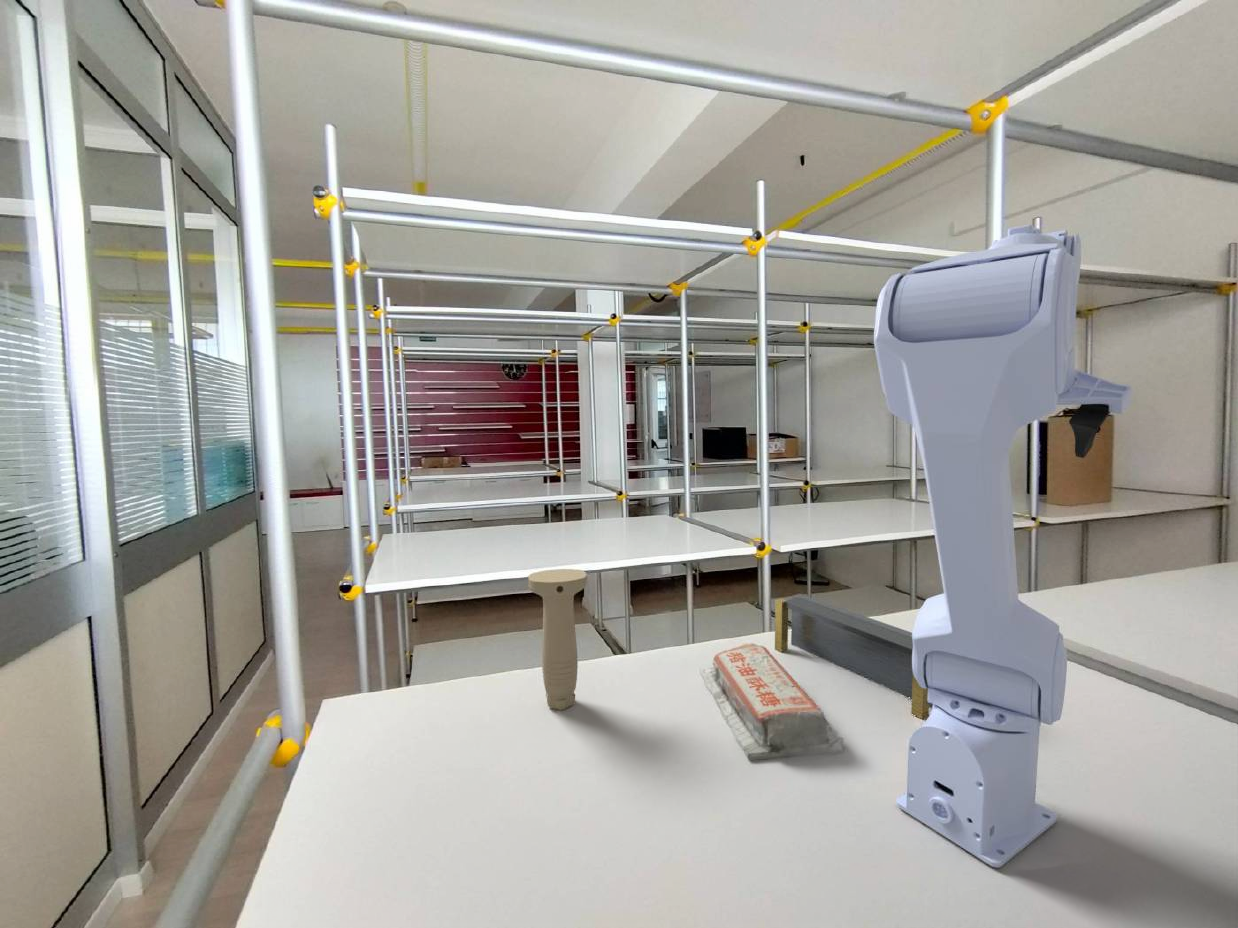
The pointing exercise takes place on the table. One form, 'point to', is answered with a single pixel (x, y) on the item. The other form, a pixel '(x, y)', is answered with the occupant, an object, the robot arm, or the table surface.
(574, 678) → the handle
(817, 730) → the packaged product
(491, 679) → the table surface
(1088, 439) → the robot arm
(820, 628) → the grey long bar
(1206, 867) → the table surface
